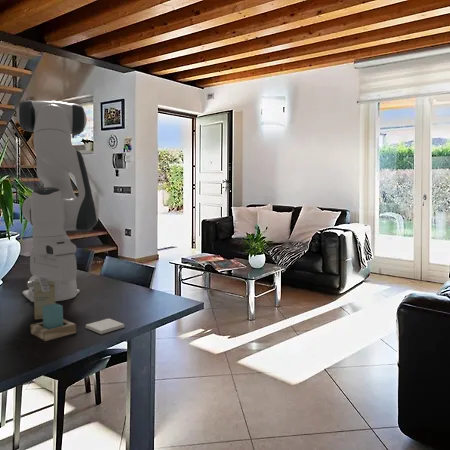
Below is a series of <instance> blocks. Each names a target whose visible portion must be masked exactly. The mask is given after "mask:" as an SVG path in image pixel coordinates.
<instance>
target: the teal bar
mask: <svg viewBox="0 0 450 450" xmlns="http://www.w3.org/2000/svg"><path fill="white" fill-rule="evenodd" d="M63 307H64V306H63V305H61V304H59V303H56V302H55V303H54V304H50V305H45V306H42V308H43V319H42V322H43V327H44V328H46V329H52V328H56V327H60V326H63V319H64V308H63Z"/></svg>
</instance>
